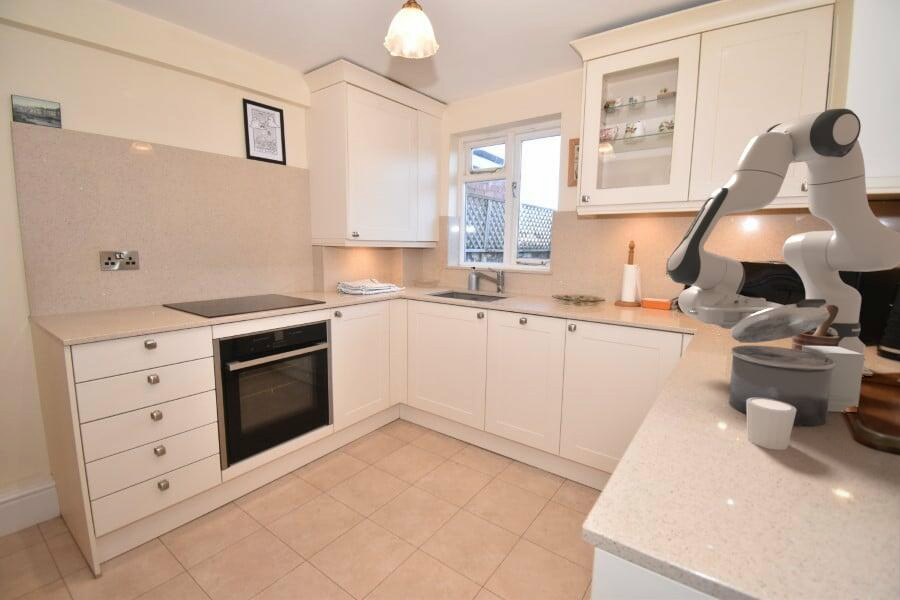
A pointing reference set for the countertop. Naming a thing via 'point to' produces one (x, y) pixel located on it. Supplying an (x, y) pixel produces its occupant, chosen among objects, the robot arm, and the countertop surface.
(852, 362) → the supplement box
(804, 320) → the cooker lid
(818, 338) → the mortar and pestle
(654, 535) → the countertop surface
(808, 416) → the cooker pot
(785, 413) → the white tapered cup
